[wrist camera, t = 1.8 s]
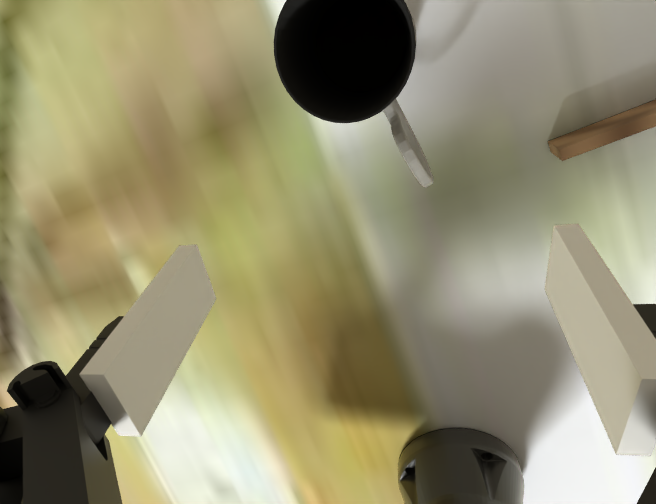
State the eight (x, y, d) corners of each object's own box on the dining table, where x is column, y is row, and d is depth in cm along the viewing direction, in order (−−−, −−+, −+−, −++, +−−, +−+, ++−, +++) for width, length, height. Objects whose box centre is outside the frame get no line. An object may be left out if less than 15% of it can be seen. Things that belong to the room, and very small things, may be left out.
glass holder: (380, -44, 34) (370, -95, 20) (466, 117, 38) (505, 162, 25) (289, 28, 37) (229, 25, 23) (378, 170, 41) (370, 236, 28)
